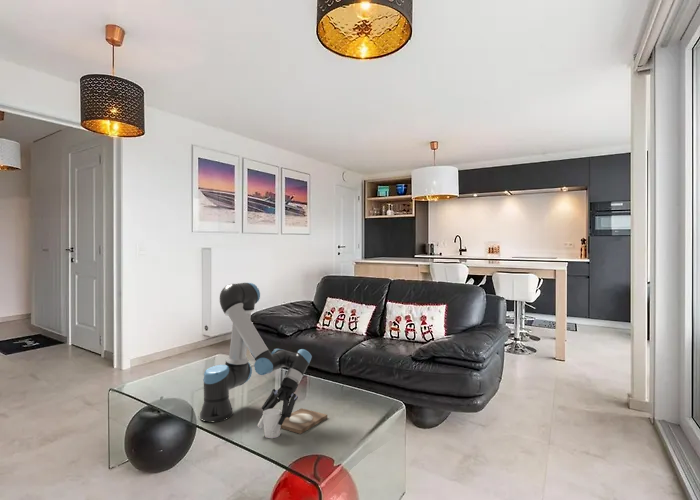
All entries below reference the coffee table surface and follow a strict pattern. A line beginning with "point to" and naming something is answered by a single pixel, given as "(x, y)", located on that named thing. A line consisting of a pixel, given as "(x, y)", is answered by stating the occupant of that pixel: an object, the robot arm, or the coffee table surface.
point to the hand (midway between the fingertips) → (266, 429)
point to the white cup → (271, 422)
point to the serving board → (302, 420)
